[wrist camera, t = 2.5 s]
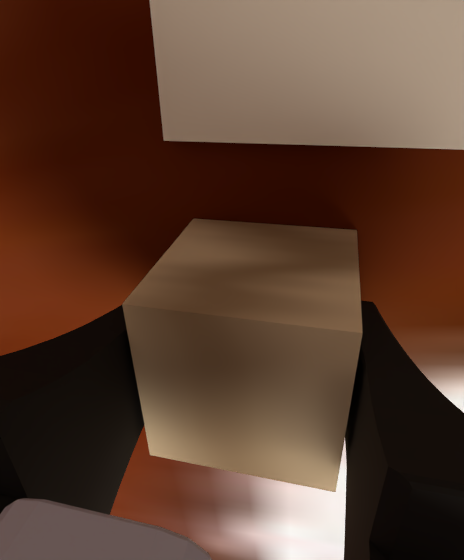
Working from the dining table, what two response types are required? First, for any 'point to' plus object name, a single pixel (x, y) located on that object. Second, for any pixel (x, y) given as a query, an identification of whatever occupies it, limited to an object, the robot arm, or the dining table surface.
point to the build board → (311, 72)
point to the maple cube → (250, 348)
